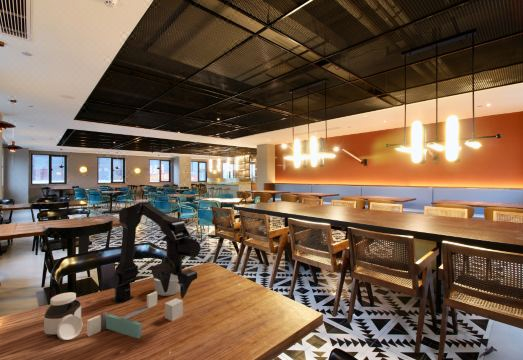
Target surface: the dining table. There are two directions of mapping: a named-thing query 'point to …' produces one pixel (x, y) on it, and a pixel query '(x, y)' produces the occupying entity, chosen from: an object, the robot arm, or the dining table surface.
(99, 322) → the door frame
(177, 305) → the block
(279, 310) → the dining table surface
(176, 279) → the ramekin
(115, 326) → the long teal plank
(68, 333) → the spread jar
